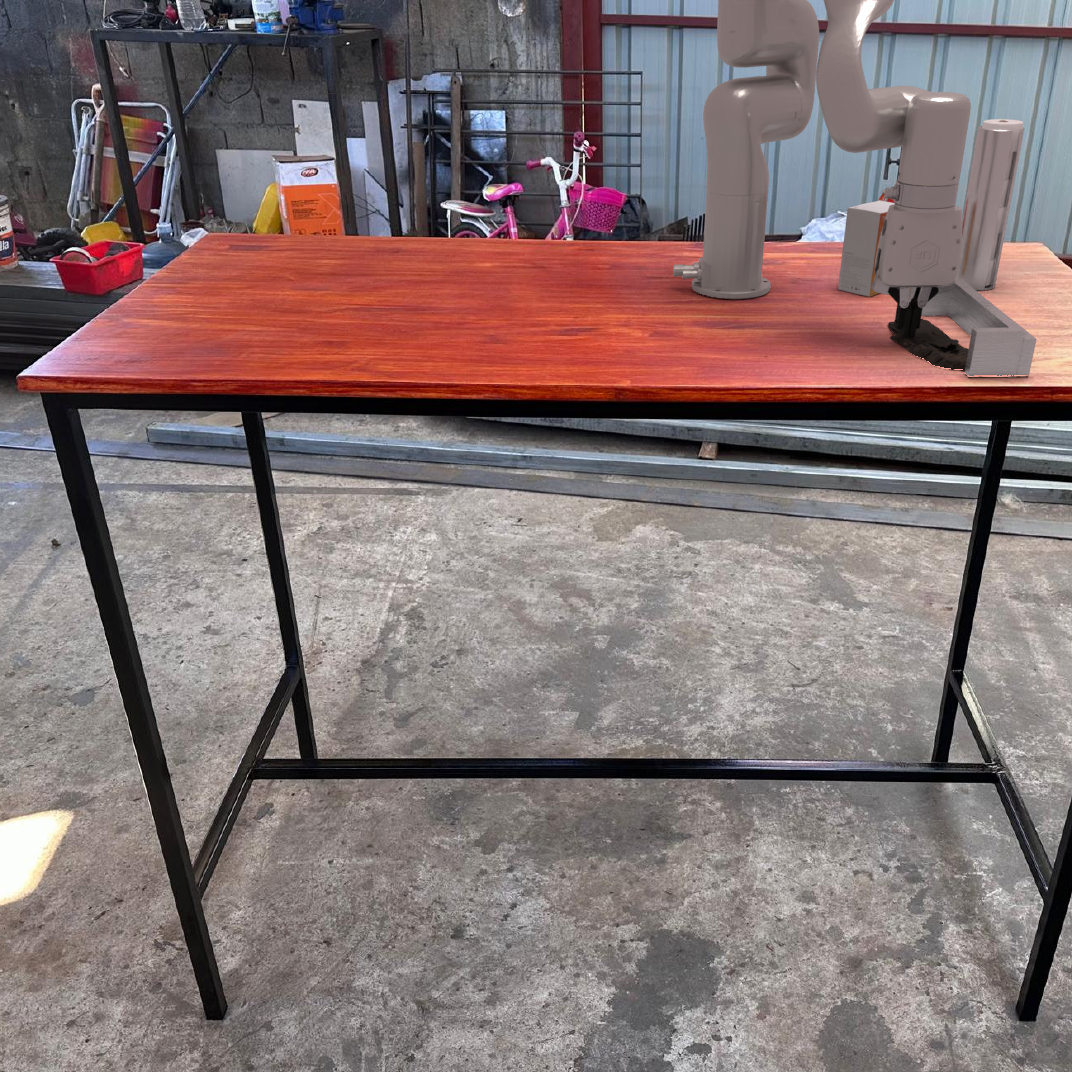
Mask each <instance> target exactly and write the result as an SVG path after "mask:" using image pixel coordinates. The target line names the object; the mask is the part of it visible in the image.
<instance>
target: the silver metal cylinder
mask: <svg viewBox="0 0 1072 1072" xmlns="http://www.w3.org/2000/svg"><path fill="white" fill-rule="evenodd" d="M1024 123H1025V122H1024V121H1022V120H1018V119H1010V118H1009V119H1008V118H1007V119H1006V118H1005V119H1004V118H996V119H995V118H994V119H985V120H984V121H983V123H982V125H979V126H978V127H977V132H976V139H975V144H974V149H973V150H974V151H973V157H972V162H971V168H970V174H969V179H968V184H967V185H968V186H967V191H966V192H967V193H966V198H965V205H964V210H963V214H962V245H961V258H960V267H959V273H958V278H957V279H962V280H963V281H964V282H966V283H967V284H968V285H969V286H971V287H972V288H973V289H974V290H976V291H977V292H981V291H989V290H993V289H994V288H995V287H996V283H997V279H998V278H997V277H998V272H999V267H1000V262H1001V257H1002V256H1001V255H1002V253H1003V246H1004V241H1005V235H1006V229H1007V224H1008V220H1009V214H1010V208H1011V204H1012V203H1011V202H1012V198H1013V197H1012V196H1013V193H1014V192H1013V191H1014V188H1015V187H1014V186H1015V182H1016V176H1017V170H1018V166H1019V160H1020V155H1021V150H1022V145H1023V140H1024V134H1025V128H1024Z"/></svg>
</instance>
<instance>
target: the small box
mask: <svg viewBox="0 0 1072 1072" xmlns="http://www.w3.org/2000/svg"><path fill="white" fill-rule="evenodd" d="M890 205H894V203H891V202H885V201H880V200H879V201H878V200H876V201H871V202H867V203H866V202H865V203H862V204H859V205H853V206H849V207H847V208H846V209H847V210H846V217H845V219H846V220H845V226H844V236H843V237H844V238H843V244H842V251H841V252H842V253H841V261H840V270H839V276H838V277H839V279H838V286H837V290H839V291H843V292H847V293H851V294H855V295H858V296H859V295H860V296H864V297H872V296H875V295H878V294H880V293H878V292H875V291H874V290H873V289H872V287H871V286H872V283H873V281H874V278H875V273H874V268H875V260H876V254H877V249H878V244H879V239H880V235H881V231H882V228H883V224H884V221H885V217H886V214H887V211H888V209H889V206H890Z"/></svg>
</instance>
